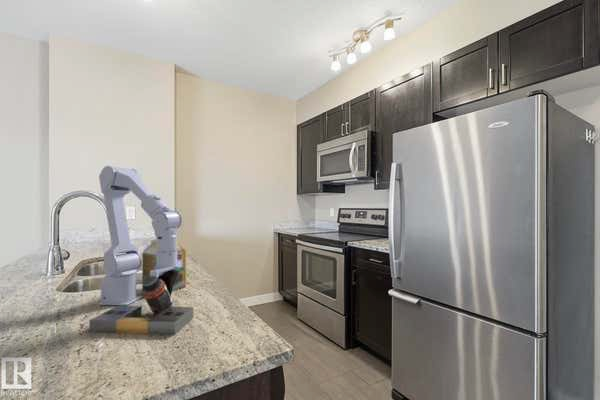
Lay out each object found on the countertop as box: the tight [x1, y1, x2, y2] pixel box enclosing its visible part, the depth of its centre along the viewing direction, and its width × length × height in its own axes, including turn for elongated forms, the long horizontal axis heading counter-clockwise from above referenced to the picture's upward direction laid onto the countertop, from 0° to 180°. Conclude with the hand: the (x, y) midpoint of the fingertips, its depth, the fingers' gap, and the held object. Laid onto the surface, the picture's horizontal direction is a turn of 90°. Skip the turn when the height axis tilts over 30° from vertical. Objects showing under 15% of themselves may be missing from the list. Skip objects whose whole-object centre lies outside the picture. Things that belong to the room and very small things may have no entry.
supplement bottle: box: [141, 276, 174, 315], centre depth 80 cm, size 6×6×11 cm
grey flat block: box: [88, 305, 194, 335], centre depth 75 cm, size 22×10×3 cm, turn 86°
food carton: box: [141, 238, 187, 292], centre depth 106 cm, size 11×11×19 cm
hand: (167, 296), depth 86 cm, fingers closed, pressing on supplement bottle
